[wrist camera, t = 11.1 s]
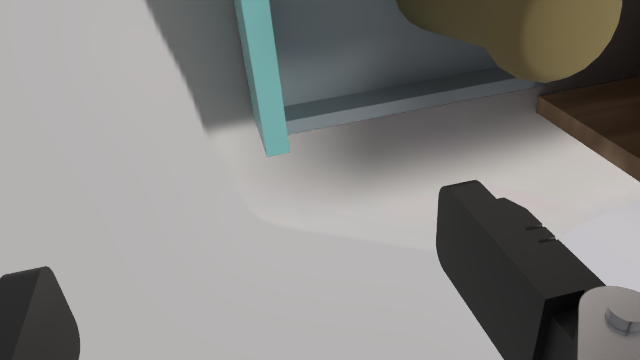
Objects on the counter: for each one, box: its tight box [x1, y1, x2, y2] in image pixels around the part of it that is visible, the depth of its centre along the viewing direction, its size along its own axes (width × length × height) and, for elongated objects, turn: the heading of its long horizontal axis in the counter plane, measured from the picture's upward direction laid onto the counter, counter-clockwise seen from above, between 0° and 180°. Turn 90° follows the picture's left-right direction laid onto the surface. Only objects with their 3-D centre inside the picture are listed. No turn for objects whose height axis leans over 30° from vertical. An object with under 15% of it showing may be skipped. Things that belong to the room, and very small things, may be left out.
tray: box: [234, 0, 547, 157], centre depth 27 cm, size 12×17×5 cm
